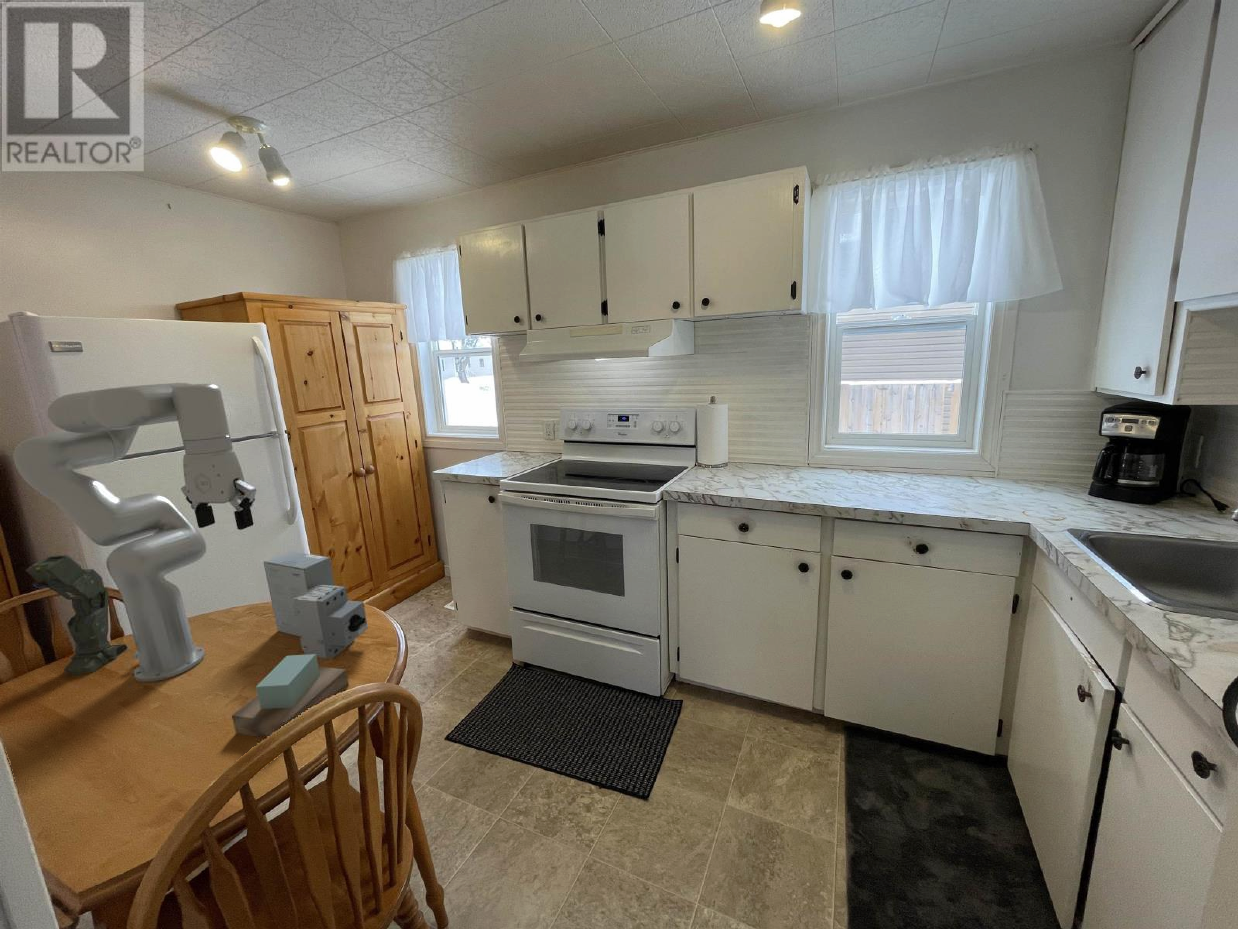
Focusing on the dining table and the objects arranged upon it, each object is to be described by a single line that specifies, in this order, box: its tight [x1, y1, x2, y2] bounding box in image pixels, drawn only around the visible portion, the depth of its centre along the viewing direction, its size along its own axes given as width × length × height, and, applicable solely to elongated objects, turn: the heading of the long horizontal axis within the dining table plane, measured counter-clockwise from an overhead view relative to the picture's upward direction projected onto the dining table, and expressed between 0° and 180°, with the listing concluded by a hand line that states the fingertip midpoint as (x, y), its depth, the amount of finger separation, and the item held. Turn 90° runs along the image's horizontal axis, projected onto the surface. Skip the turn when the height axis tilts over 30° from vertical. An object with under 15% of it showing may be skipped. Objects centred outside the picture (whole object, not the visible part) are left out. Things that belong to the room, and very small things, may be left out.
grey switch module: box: [263, 551, 336, 638], centre depth 131 cm, size 16×8×20 cm, turn 68°
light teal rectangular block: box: [255, 654, 320, 709], centre depth 102 cm, size 10×6×5 cm, turn 3°
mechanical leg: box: [25, 554, 129, 676], centre depth 118 cm, size 14×7×30 cm, turn 5°
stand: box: [231, 666, 350, 738], centre depth 103 cm, size 12×16×4 cm
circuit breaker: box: [293, 585, 369, 659], centre depth 122 cm, size 8×14×15 cm, turn 79°
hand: (226, 526), depth 105 cm, fingers open, 9 cm apart
